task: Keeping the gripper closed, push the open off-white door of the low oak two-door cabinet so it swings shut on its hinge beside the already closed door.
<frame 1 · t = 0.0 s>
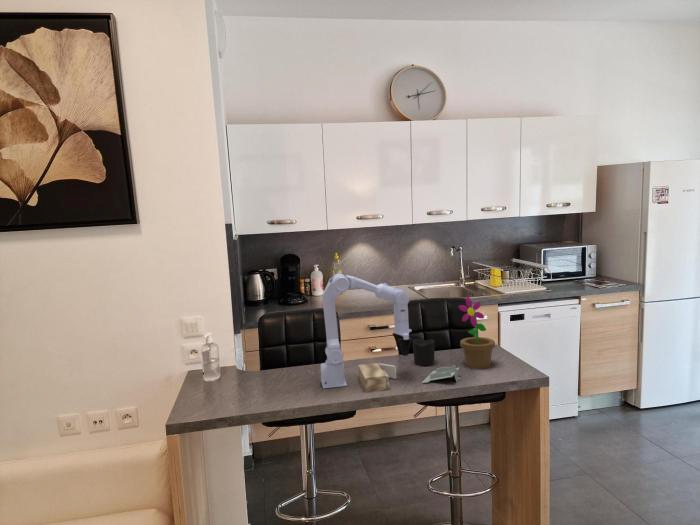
hand: (402, 352, 196), 10 cm above the counter, tool pointing down, fingers open, 7 cm apart
cabinet: (372, 383, 191), on the counter
door: (387, 371, 197), point 3 cm above the counter, hinge at 45.0°
flowerpot: (478, 365, 207), on the counter
pen holder: (424, 363, 212), on the counter
metal bracket: (442, 380, 192), on the counter
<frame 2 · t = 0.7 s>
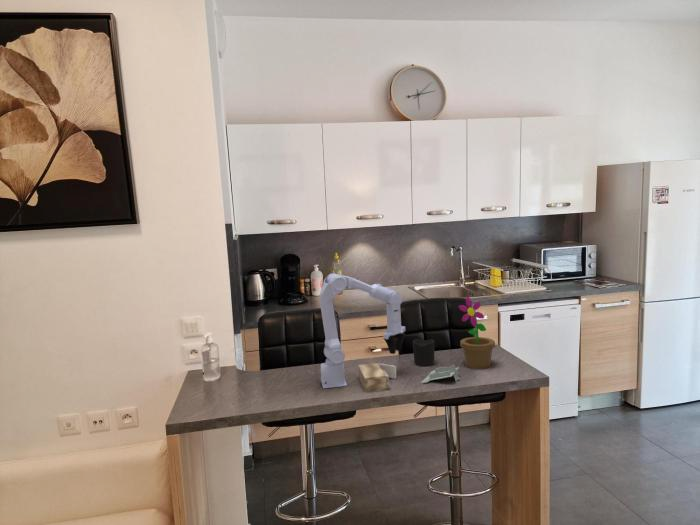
hand: (395, 351, 200), 9 cm above the counter, tool pointing down, fingers open, 4 cm apart
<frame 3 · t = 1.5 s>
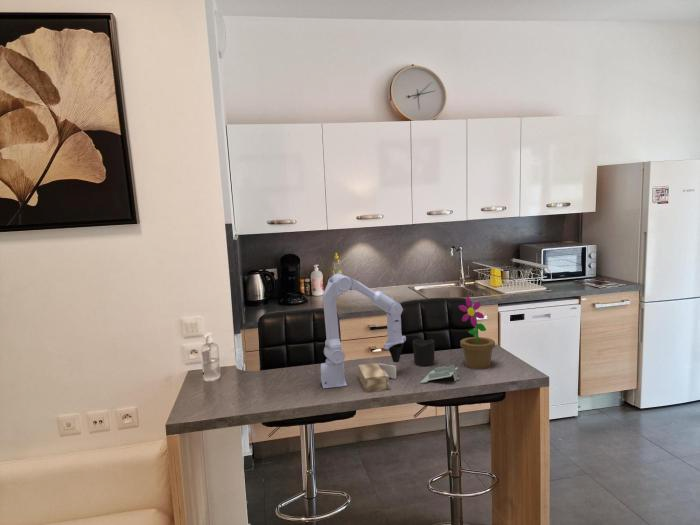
hand: (396, 361, 200), 5 cm above the counter, tool pointing down, fingers closed
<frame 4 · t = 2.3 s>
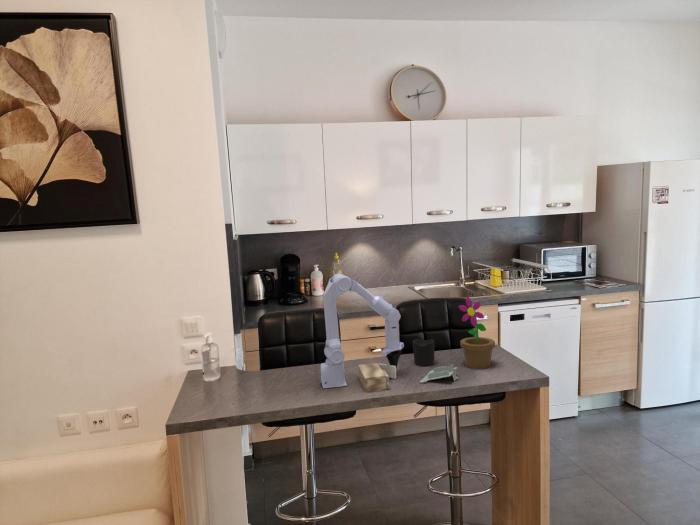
hand: (393, 368, 199), 3 cm above the counter, tool pointing down, fingers closed
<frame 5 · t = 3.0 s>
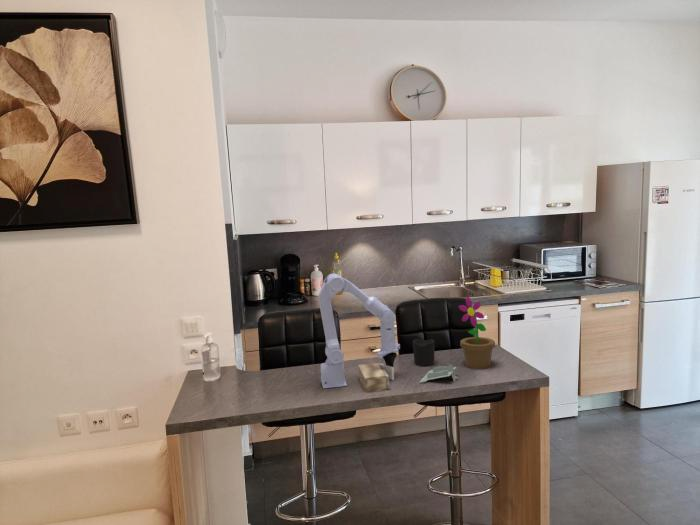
hand: (389, 370, 196), 3 cm above the counter, tool pointing down, fingers closed, pressing on door
door: (386, 371, 196), point 3 cm above the counter, hinge at 33.0°, touching gripper
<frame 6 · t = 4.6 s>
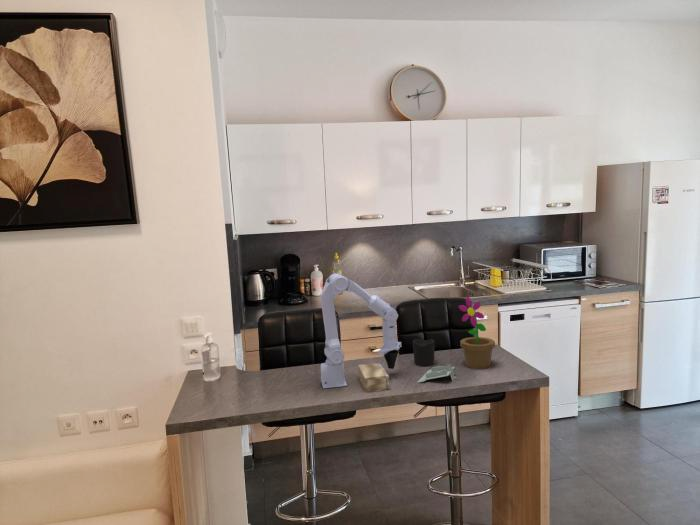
hand: (391, 368, 198), 3 cm above the counter, tool pointing down, fingers closed
door: (381, 372, 195), point 3 cm above the counter, hinge at 0.5°
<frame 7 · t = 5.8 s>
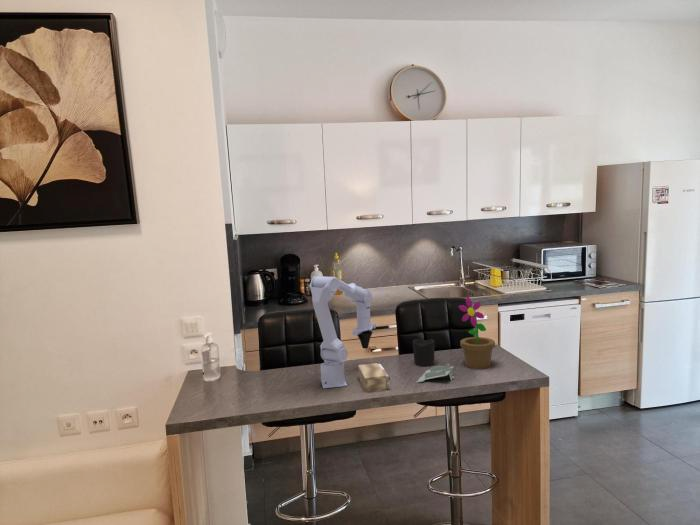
hand: (365, 348, 208), 9 cm above the counter, tool pointing down, fingers closed
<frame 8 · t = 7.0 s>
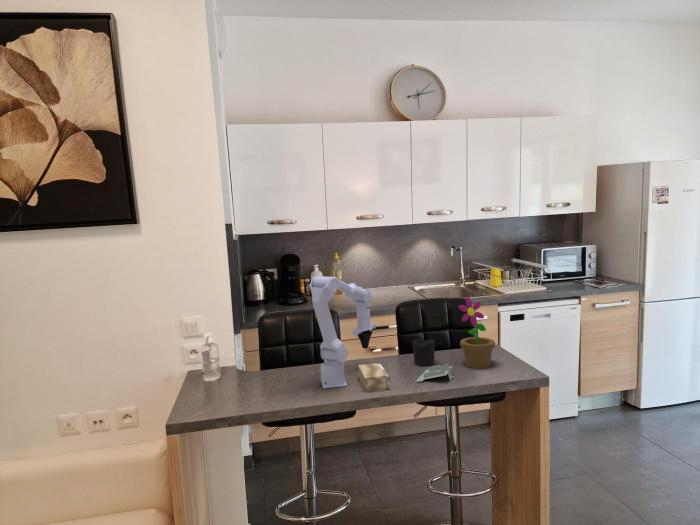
hand: (365, 348, 208), 9 cm above the counter, tool pointing down, fingers closed
at the end: door at +0° (first picture: +45°) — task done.
